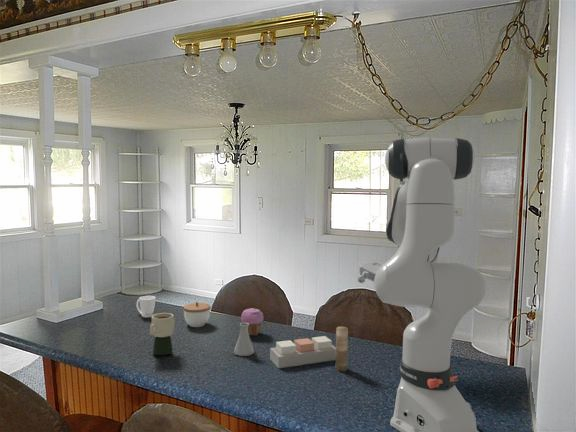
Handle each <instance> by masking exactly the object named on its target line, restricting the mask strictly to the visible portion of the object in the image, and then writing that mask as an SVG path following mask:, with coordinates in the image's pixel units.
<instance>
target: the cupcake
mask: <svg viewBox="0 0 576 432" xmlns="http://www.w3.org/2000/svg"><path fill="white" fill-rule="evenodd" d="M240 321H241V323H249V326H248V333H249V336H254V337H256V336H258V335H259V333H260V329H261V325H262V323H263V321H264V313H263V312H262V311H261V310H260V309H257V308H254V307H251V308H246V309H244V310H243V312H242V313H241V316H240Z"/></svg>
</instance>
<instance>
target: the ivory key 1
mask: <svg viewBox="0 0 576 432" xmlns="http://www.w3.org/2000/svg"><path fill="white" fill-rule="evenodd" d="M275 347H276V351H277V352H278V353H279V354H280V355H286V354H294V353H296V345H295V344H294V341H291V340H290V339H289V340H282V341H276V342H275Z"/></svg>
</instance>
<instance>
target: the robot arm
mask: <svg viewBox="0 0 576 432" xmlns="http://www.w3.org/2000/svg"><path fill="white" fill-rule="evenodd" d="M475 158H476V156H475V152H474V148H473V146H472V143H471V142H470V141H469V140H467V139H464V138H457V137H455V138H454V139H453V138H444V137H428V136H427V137H426V136H425V137H415V138H413V137H412V138H408V139H404V138H400V139H396V140H393V141H391V143H389V145H388V148H387V150H386V152H385V156H384V163H385V167H386V169H387V172H388V175H390V176H391V177H392V178H394V179H397V180H399V181H400V182H402V183H401V184H400V185H399V186H398V187H397V189H396V192H395V194H394V199H393V204H392V208H391V211H390V217H389V220H388V223H387V225H386V229H385V233H386V238H387V240H388V241H390V242H391V243H394V244H396V245H397V246H399V247H398V248H397V250H396V252H395V253H394V255H392V256H391V258H389V259H388V260H387V261H386V262H382V261H380V260H376V259H375V260H370V261H369V260H368V261H367V262H363V263H361V264H360V265H359V271H358V272H359V275H360V276H358V277H357V282H358V283H360V284H363V283H366V280H369V281H372V282H373V285H374V290H375V293H376V295H377V297H378V299H379V300H380V301H381V302H382V303H384V304H387V305H391V306H392V305H393V306H396V307H401V308H403V307H404V308H423V309H424V308H425V309H426V308H427V311H426V313H425V314H424V315H423V316H422V317H421V318H418V319H417V320H416V319H415V320H413V321H412V322H410V323H409V324H408V325H406V327H405V329H404V331H403V333H402V337H403V338H402V358H401V359H400V364H399V375H400V377H401V378H400V381H399V385H398V387H397V390H396V397H395V404H394V409H393V410H394V411H393V416H392V417H391V418H390V421H389V422H390V426H391V427H393V428H394V429H395V430H397V431H399V432H480V431H479V430H478V429H477V419H476V415H475V413H474V412H473V410H472V405H471V404H470V402H468V401H466V400H465V399H464V397H463V396H462V394H461V392H460V391H459V390H458V388H457V387H456V384H455V383H456V382H457V381H458V382H459V379H457V378H459V375H455V376H454V374H453V373H454V372H453V371H454V370H453V369H452V365H451V364H450V363H451V351H452V343H453V342H452V341H453V336H454V333H455V331H456V328H457V326H458V325H459V324H460V321H461V320H462V319H463V317H465V315H466V314H467V313H469V312H470V311H471V310H473V309H474V308H476V307H478V306H479V305H480V304H481V302H482V301H483V300H484V297H485V295H486V291H487V289H486V287H487V286H486V281H485V278H484V275H483V274H482V273H481V271H480V270H479V269H478V268H477V267H475V266H472V265H467V264H464V263H463V264H462V263H458V262H438V259H439V257H438V254H439V251H440V248H441V247H442V246H444V245H446V244H448V243H449V242H450V241H451V240H452V239H453V237H454V235H455V188H454V181H455V180H461V179H464V178H467V177H468V176H469V175H470V174H471V172H472V170H473V168H474V165H475V161H476V160H475ZM404 179H405V181H404Z"/></svg>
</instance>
